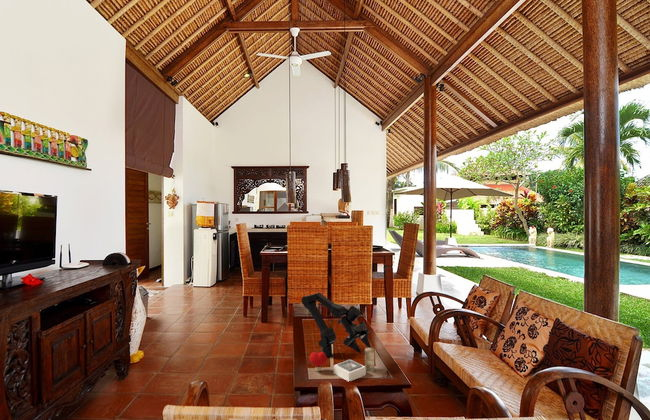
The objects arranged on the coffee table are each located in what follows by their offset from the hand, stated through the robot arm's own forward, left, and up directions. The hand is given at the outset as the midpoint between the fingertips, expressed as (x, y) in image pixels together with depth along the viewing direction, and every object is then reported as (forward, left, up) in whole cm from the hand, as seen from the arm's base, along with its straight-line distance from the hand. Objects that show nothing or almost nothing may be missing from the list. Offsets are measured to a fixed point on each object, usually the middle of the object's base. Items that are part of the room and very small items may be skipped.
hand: (365, 350), depth 184 cm
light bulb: (-13, -22, -10) cm, 28 cm away
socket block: (0, -11, -10) cm, 15 cm away
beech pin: (+3, +1, -10) cm, 10 cm away
